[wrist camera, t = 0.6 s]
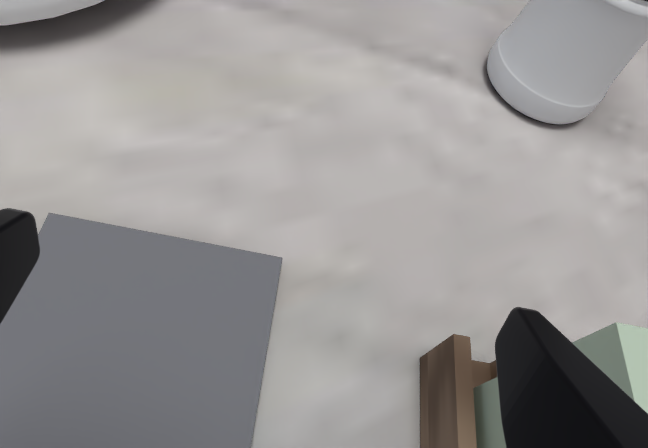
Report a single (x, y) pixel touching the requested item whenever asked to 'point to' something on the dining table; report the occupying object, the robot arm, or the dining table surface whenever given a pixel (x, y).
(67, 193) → the dining table surface
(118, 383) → the mat
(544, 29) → the vodka
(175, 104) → the dining table surface
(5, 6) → the plate
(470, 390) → the rack
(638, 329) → the green rectangular slab
